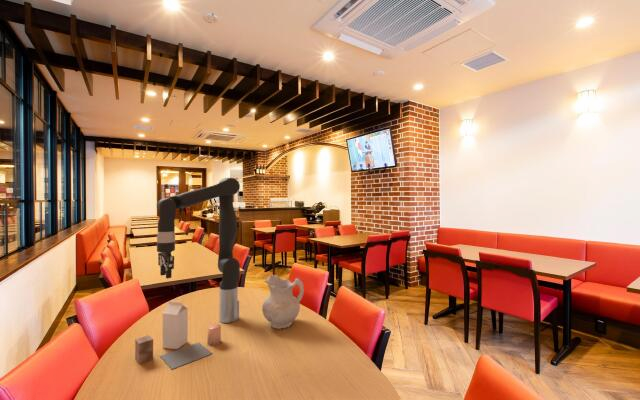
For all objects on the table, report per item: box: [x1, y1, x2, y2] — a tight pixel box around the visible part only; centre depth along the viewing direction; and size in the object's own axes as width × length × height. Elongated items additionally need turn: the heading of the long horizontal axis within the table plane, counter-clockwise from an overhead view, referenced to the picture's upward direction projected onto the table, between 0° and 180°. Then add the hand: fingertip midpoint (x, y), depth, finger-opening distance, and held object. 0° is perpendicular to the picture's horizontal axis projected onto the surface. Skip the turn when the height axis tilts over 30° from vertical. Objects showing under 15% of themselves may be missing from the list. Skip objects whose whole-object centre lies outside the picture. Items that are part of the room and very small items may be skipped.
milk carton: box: [162, 300, 189, 350], centre depth 129 cm, size 7×7×19 cm
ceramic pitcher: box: [261, 274, 305, 330], centre depth 152 cm, size 22×20×25 cm
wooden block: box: [134, 334, 154, 365], centre depth 118 cm, size 5×5×8 cm
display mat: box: [159, 342, 213, 370], centre depth 121 cm, size 16×13×1 cm
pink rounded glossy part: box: [206, 323, 222, 347], centre depth 132 cm, size 6×6×7 cm
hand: (165, 276), depth 138 cm, fingers open, 6 cm apart
